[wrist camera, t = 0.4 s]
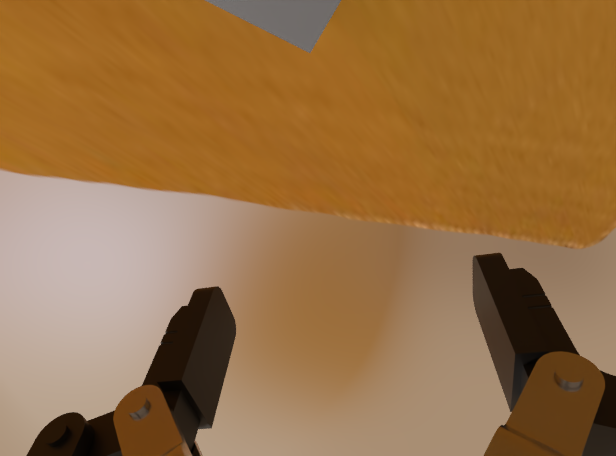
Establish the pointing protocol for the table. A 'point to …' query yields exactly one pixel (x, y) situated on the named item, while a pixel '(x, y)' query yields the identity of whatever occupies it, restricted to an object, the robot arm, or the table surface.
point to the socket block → (285, 17)
